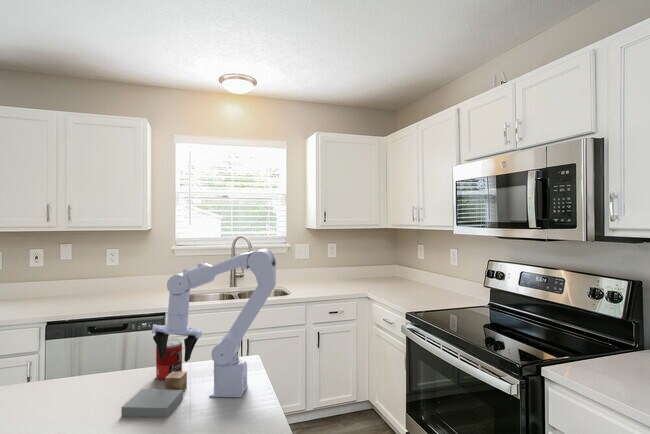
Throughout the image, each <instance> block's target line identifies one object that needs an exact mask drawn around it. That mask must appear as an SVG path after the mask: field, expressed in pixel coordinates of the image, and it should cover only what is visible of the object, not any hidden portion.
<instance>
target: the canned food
mask: <svg viewBox="0 0 650 434" xmlns="http://www.w3.org/2000/svg"><path fill="white" fill-rule="evenodd" d="M155 347H156V348H155V354H156V355H155V356H156V357H155V361H156V362H155V365H156V366H155V368H156V370H155V371H156V372H155V373H156V374H155V377H156V378H157V379H158V380H160V381H165V378H166V377H167V376H168V375H169V374H170V373H171V372H172V371H177V372H183V340H182V339H179V338H168V341H167V350H166V357H164V358H163V359H160V355H159V351H158V347H157V345H156V344H155Z"/></svg>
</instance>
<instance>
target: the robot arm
mask: <svg viewBox="0 0 650 434" xmlns="http://www.w3.org/2000/svg"><path fill="white" fill-rule="evenodd" d="M238 268H242V269H243V270H248V269H250V271H251V273H253V275H254V276H255V279H256V280H255V281H256V283H257V286H256V287H255V289H254V291H253V293H252V294H251V296H249V297H250V298H248V300H247V302H246V303H245V305H244V306H243V308H242V309H241V311H240V313H239V314H238V316H237V317H236V319H235V320H234V322H233V324H232V326H231V327H230V329H229V330H228V331H227V333H226V334H225V335H224V336H223V337H221V339H220V341H219V342H218V343H217V344H216V345H215V346H214V347H213V348H212V350H211V360H212V361H213V389H212V390H211V392H209V395H208V397H210V398H211V397H213V398H242V397H243V395H244V393H245V391H246V389H247V387H248V385H249V384H248V363H247V361H244V360H242V359H241V360H240V357H239V354H238V352H239V351H240V348H241V344H242V343H241V342H242V340H243V338H244V337H245V335H246V333H247V331H248V330H249V328H250V327H251V325H252V324H253V322H254V320H255V319H256V317H257V315H258V314H259V313H260V310H261V309H262V307H263V306H264V305H265V303H266V301H267V300H268V298H269V297H270V295H271V293H272V292H273V290H274V288H275V287H276V283H277V261H276V258H275V255H274V253H273V252H272V251H271V250H270V249H267V248H260V249H258V250H252V251H248V252H244V253H241V254H238V255H235V256H232V257H230V258H228V259H226V260H223V261H221V262H218V263H216V264H209V263H205V262H204V263H203V262H200V263H198V264H197V266H195V267H193V268H190V269H187V268H186V269H183V270H182V272H179V273H176V274H173V275H171V276H170V277H169V278H168V280H167V282H166V287H167V291H169V292H168V293H169V297H168V308H167V311H168V312H167V322H166V325H165V324H163V325H161V324H160V325H159V324H155V325H153V326H152V328H151V334H154V335H153V337H152V338H153V341H154V342H155V346H156V345H157V347H158V351H159V355H160V359H163V358H164V357H166V350H167V341H168V339H169V336H170V335H172V336H182V337H186V338H185V339H183V342H184V343H183V344H184V362H185V363H188V362H189V361H190V360H191V356H192V353H193V351H194V347H195V345H196V343H197V341H198V340H199V339H200V338H201V337H202V333H203V331H202V329H198V328H195V327H190V326H188V325H189V313H190V312H189V309H190V294H191V293H190V292H191V291H190V290H191V289H196V288H198V287H200V286H204V285H206V284H209V283H212V282H214V280H215V278H216V276H218V275H220V274H223V273H227V272H230V271H232V270H235V269H238Z"/></svg>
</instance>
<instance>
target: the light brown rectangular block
mask: <svg viewBox="0 0 650 434" xmlns="http://www.w3.org/2000/svg"><path fill="white" fill-rule="evenodd" d="M187 377H188V372H187V371H182V372H177V371H172V372H171V373H170V374H169V375H168V376H167V377H166V378H165V380H164V382H165V383H164V390H183V393H184V392H185V391H186V389H187V388H188V387H187V386H188V385H187V384H188V383H187V382H188V380H187V379H188V378H187Z"/></svg>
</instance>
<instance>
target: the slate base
mask: <svg viewBox="0 0 650 434" xmlns="http://www.w3.org/2000/svg"><path fill="white" fill-rule="evenodd" d="M183 399H184V392H183V390H165V389H152V388H151V389H150V388H149V389H147V388H146V389H145V388H142V389H140V390H139V391H138V392H137V393H136V394H135V395H134V396H132V398H130V399H129V400H128V401H127V402H125V403H124V404H123V405H122V406H121V417H124V418H132V417H133V418H161V419H162V418H163V419H165V418H166V419H167V418H168V417H169V416H170V415H171V413H173V412H174V410H175V409H176V408H177V406H179V405H180V403H181V402H182V401H183Z"/></svg>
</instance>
